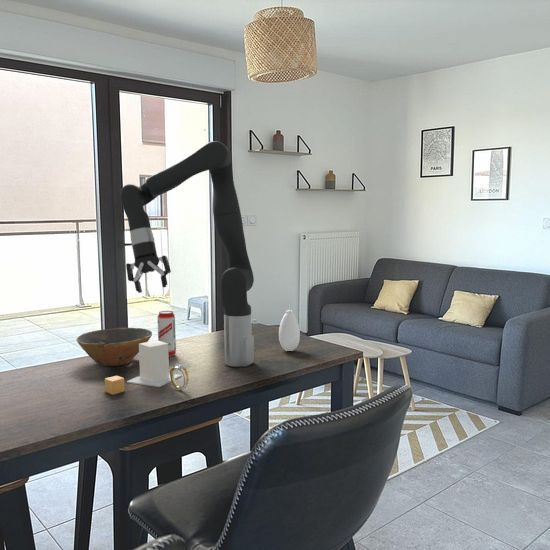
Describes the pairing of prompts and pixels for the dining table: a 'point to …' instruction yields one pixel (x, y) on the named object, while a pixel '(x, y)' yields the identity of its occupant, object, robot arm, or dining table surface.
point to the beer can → (167, 330)
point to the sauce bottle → (289, 331)
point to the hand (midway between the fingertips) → (152, 289)
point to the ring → (184, 372)
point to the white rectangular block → (154, 361)
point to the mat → (156, 384)
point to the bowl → (113, 344)
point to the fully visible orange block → (114, 385)
